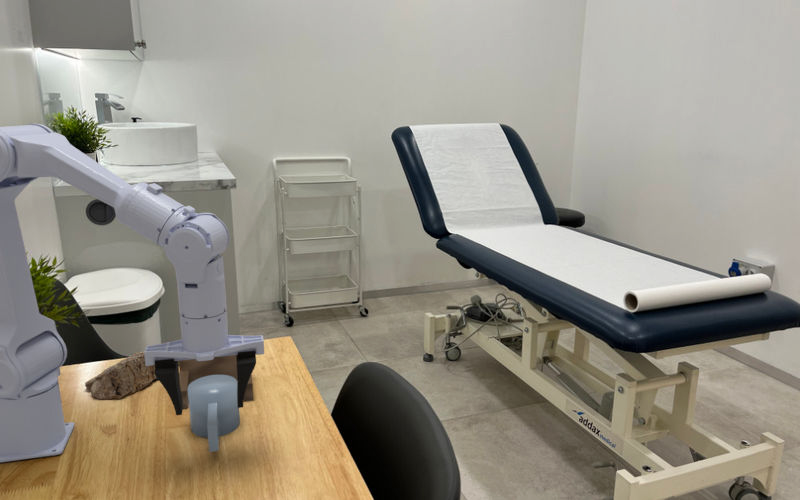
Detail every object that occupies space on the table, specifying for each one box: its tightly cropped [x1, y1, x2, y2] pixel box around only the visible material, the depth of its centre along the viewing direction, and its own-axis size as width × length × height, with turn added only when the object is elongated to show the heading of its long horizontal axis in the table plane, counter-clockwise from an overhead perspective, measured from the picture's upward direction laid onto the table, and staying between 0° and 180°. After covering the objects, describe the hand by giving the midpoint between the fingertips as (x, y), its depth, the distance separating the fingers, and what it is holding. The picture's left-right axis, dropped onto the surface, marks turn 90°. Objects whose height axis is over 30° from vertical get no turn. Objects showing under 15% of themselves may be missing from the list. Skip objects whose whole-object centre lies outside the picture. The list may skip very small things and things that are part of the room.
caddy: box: [179, 355, 254, 410], centre depth 99 cm, size 12×9×7 cm
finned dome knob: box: [188, 375, 241, 453], centre depth 86 cm, size 7×13×6 cm, turn 16°
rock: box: [84, 350, 179, 400], centre depth 103 cm, size 15×10×6 cm
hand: (210, 407), depth 79 cm, fingers open, 7 cm apart
